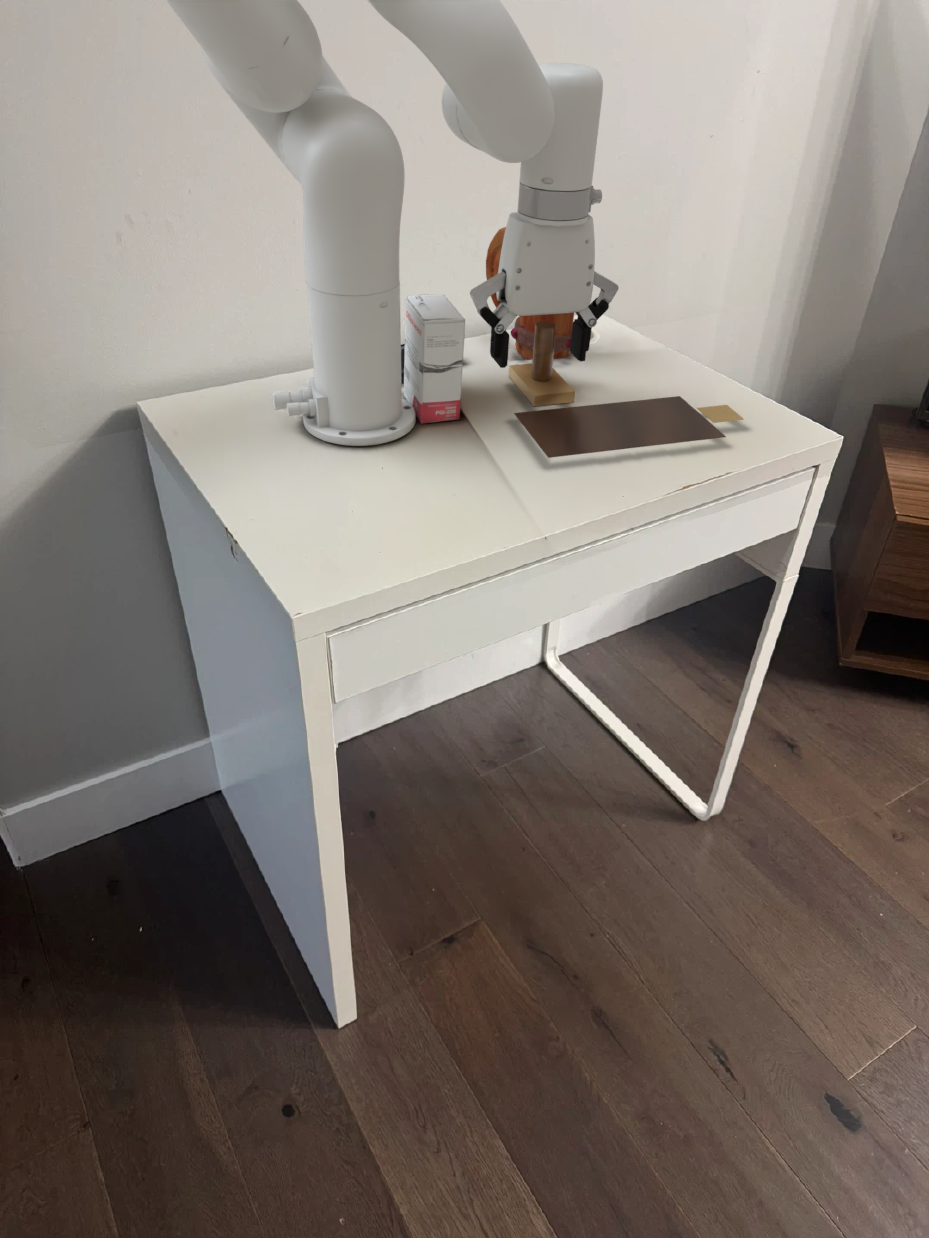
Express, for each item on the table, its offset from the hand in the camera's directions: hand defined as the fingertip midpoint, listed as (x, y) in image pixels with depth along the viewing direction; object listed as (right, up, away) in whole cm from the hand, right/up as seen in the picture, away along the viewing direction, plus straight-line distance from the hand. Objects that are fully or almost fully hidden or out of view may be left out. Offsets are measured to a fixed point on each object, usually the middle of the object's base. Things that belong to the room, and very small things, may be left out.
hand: (538, 360), depth 103 cm
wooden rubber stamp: (0, -4, +3) cm, 5 cm away
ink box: (-13, -6, 0) cm, 14 cm away
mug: (0, +5, +15) cm, 16 cm away
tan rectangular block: (+21, -7, -1) cm, 22 cm away
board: (+8, -9, -4) cm, 13 cm away
